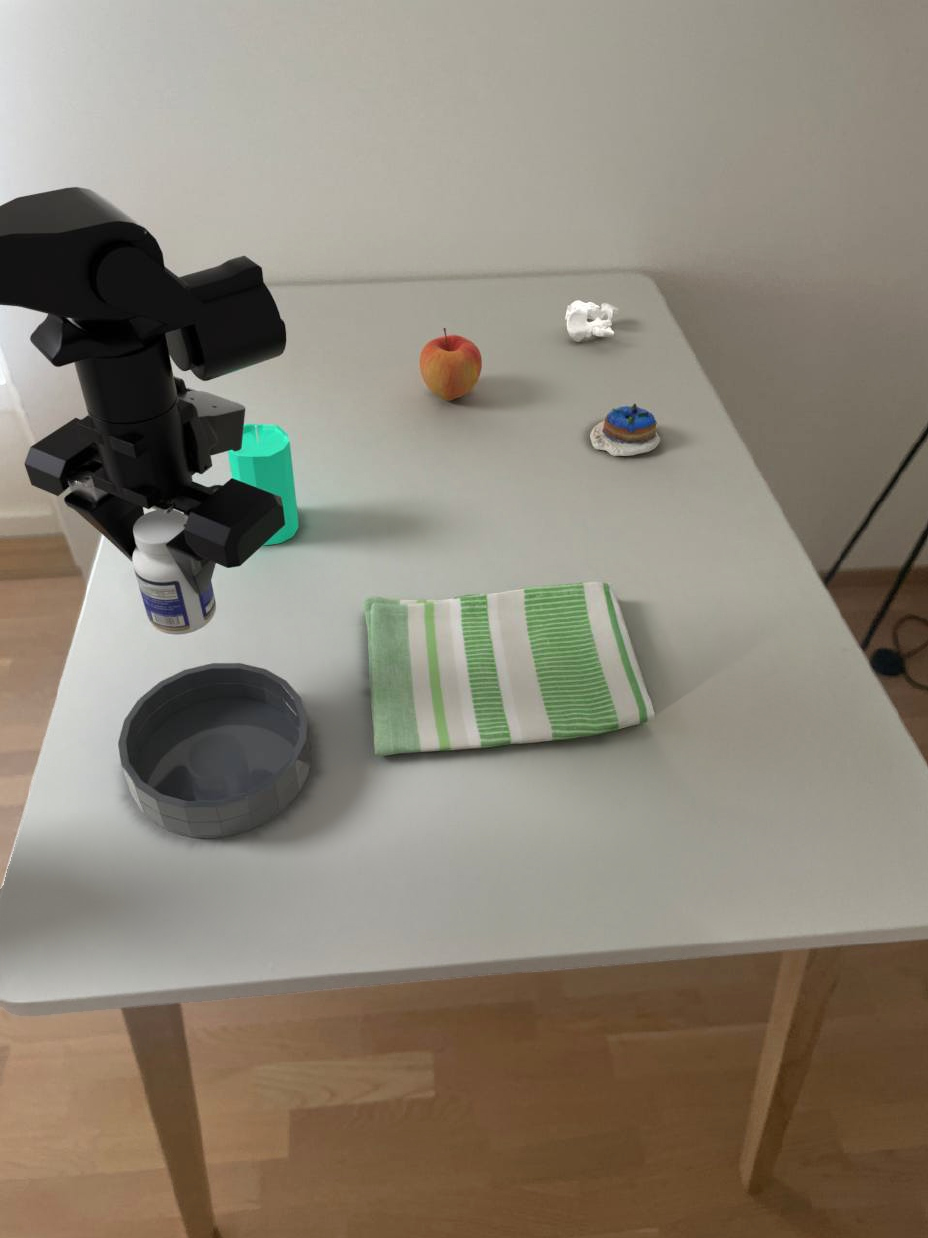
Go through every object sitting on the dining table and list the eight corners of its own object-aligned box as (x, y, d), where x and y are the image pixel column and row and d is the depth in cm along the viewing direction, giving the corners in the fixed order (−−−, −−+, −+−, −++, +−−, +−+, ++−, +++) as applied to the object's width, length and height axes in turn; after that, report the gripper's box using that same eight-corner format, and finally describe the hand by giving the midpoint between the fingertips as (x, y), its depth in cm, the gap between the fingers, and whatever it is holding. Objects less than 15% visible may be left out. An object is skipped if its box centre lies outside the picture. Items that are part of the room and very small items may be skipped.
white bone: (616, 323, 125) (565, 312, 125) (609, 353, 128) (559, 342, 128) (622, 295, 130) (573, 284, 130) (614, 323, 133) (567, 313, 134)
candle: (294, 546, 97) (283, 445, 89) (234, 544, 97) (217, 442, 89) (302, 508, 101) (292, 409, 93) (245, 506, 101) (229, 406, 93)
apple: (444, 417, 115) (446, 356, 109) (407, 390, 119) (407, 330, 113) (492, 398, 118) (496, 337, 112) (454, 372, 122) (456, 312, 116)
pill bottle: (193, 581, 80) (174, 493, 73) (229, 614, 77) (213, 527, 71) (134, 611, 77) (109, 523, 71) (170, 647, 74) (148, 559, 68)
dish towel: (363, 609, 91) (362, 587, 89) (607, 593, 94) (611, 572, 92) (375, 762, 79) (374, 741, 77) (656, 739, 81) (662, 718, 79)
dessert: (660, 417, 115) (664, 397, 109) (657, 471, 114) (660, 453, 108) (592, 414, 116) (592, 393, 110) (588, 467, 115) (588, 449, 109)
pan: (142, 861, 72) (131, 830, 69) (119, 718, 81) (109, 686, 78) (330, 808, 75) (327, 777, 73) (288, 678, 85) (284, 646, 82)
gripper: (322, 383, 65) (336, 559, 76) (110, 312, 71) (150, 485, 82) (216, 467, 58) (248, 648, 69) (-10, 380, 64) (52, 559, 75)
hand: (174, 578), depth 74 cm, fingers closed on pill bottle, 5 cm apart
